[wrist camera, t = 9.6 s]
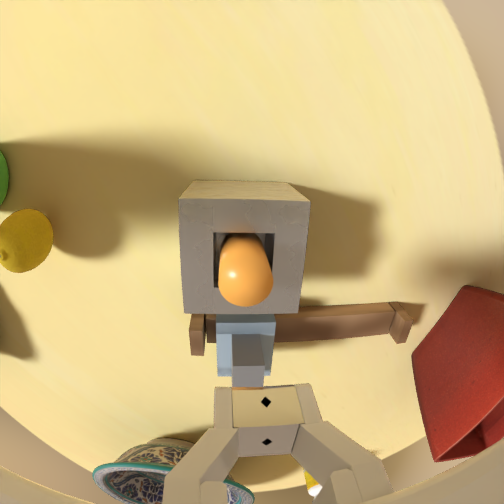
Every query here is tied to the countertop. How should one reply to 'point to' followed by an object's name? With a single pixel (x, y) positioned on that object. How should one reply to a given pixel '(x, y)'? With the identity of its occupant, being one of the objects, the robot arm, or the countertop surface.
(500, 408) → the plant pot
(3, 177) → the wine bottle
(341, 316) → the rail
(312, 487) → the supplement bottle
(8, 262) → the lemon
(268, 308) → the grey cube with hole
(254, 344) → the carriage
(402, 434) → the countertop surface
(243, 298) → the gauge button
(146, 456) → the bowl
